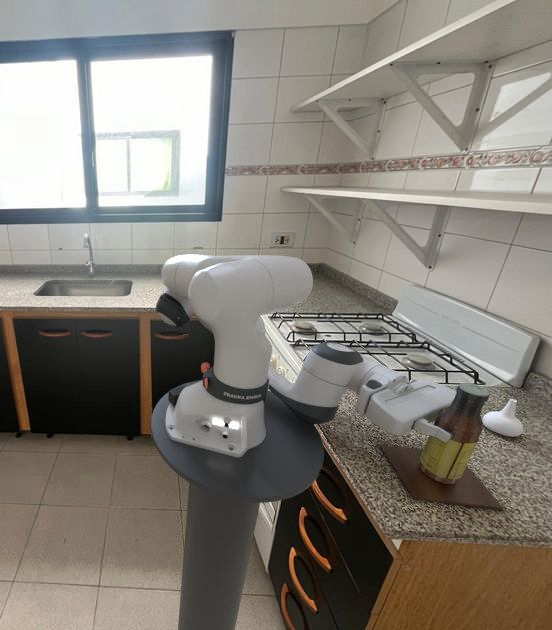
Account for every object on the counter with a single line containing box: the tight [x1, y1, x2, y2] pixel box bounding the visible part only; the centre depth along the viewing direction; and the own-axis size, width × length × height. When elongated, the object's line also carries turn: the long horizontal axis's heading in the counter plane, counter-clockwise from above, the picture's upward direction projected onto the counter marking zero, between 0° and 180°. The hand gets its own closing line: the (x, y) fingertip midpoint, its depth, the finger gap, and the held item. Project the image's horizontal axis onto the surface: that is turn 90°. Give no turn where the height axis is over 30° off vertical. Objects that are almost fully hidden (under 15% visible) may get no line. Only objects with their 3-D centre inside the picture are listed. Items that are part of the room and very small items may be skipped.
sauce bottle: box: [420, 382, 491, 484], centre depth 63 cm, size 6×6×20 cm
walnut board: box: [380, 445, 505, 511], centre depth 67 cm, size 14×13×1 cm
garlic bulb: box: [482, 398, 524, 438], centre depth 77 cm, size 6×6×8 cm
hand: (463, 432), depth 62 cm, fingers closed on sauce bottle, 6 cm apart
